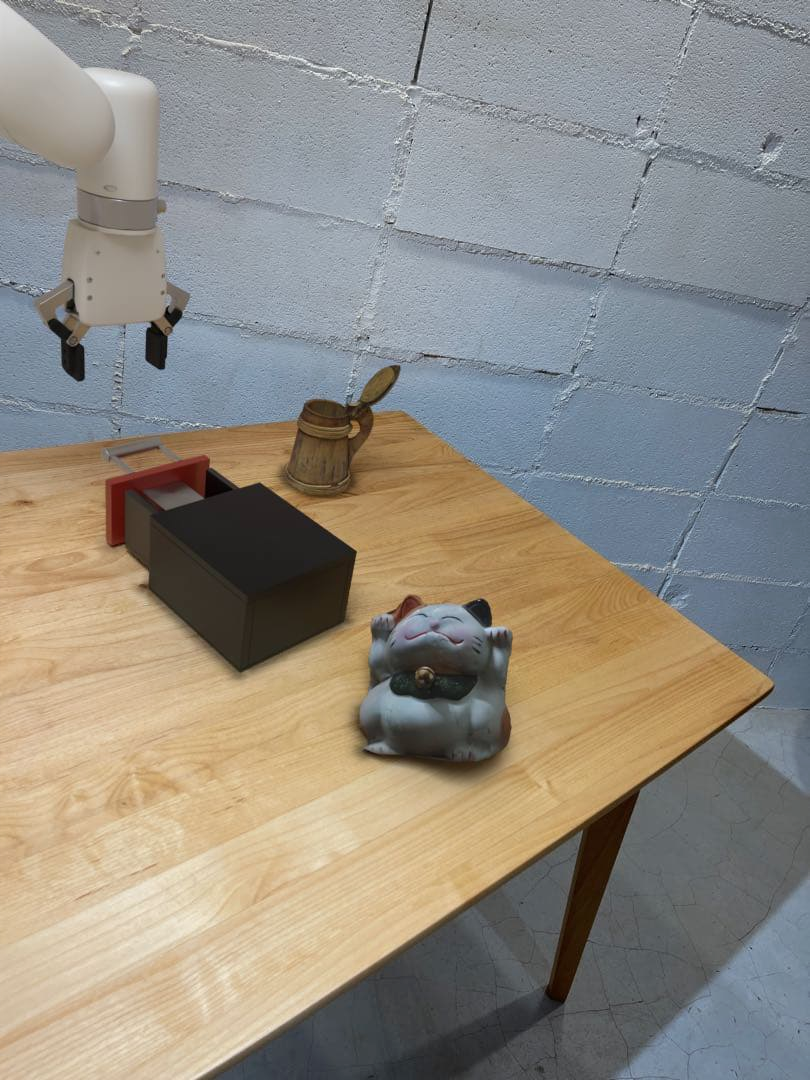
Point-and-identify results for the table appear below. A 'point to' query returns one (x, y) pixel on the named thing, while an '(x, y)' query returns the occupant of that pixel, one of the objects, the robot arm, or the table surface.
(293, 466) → the wooden mug
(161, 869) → the table surface
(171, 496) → the steel block
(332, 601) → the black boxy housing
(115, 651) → the table surface
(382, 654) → the lucky cat figurine
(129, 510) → the drawer
